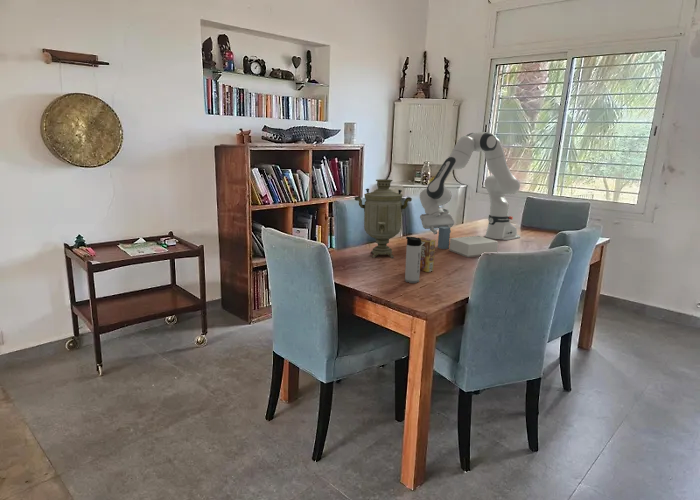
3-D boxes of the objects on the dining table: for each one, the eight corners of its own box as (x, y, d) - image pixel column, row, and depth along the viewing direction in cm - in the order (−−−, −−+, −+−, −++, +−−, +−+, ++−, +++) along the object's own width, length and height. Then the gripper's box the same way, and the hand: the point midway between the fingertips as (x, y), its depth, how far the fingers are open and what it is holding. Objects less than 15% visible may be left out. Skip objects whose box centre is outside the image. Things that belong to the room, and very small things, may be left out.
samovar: (344, 259, 237) (345, 181, 228) (361, 247, 261) (362, 176, 251) (401, 265, 228) (404, 184, 218) (412, 253, 251) (416, 179, 242)
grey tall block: (444, 246, 267) (445, 226, 264) (448, 248, 263) (450, 228, 261) (437, 247, 266) (439, 227, 263) (442, 249, 262) (443, 228, 259)
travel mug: (402, 279, 206) (404, 235, 202) (417, 278, 207) (419, 235, 202) (405, 283, 200) (407, 238, 195) (420, 283, 201) (423, 238, 196)
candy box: (433, 271, 219) (436, 240, 216) (427, 272, 217) (429, 241, 213) (420, 266, 226) (421, 236, 222) (413, 268, 223) (415, 237, 220)
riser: (477, 247, 268) (478, 235, 266) (497, 254, 253) (499, 241, 251) (448, 250, 259) (449, 238, 258) (467, 257, 245) (468, 244, 243)
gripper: (421, 211, 263) (429, 231, 257) (450, 209, 271) (459, 229, 265) (416, 217, 268) (425, 237, 262) (445, 215, 276) (454, 235, 270)
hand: (442, 233), depth 264 cm, fingers open, 8 cm apart
